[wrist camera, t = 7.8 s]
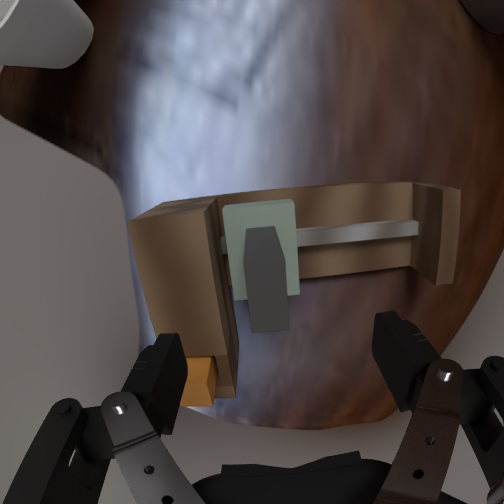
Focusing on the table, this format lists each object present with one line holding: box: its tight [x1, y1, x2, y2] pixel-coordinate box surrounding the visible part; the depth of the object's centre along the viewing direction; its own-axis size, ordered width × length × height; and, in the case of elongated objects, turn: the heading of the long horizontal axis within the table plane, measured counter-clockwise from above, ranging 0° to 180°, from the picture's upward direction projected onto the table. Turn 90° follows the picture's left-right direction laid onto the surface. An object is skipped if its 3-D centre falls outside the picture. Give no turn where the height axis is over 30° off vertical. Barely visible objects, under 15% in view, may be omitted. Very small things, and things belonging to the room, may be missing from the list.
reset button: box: [180, 356, 218, 406], centre depth 21 cm, size 2×2×4 cm
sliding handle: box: [222, 199, 300, 333], centre depth 20 cm, size 5×7×11 cm
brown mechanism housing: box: [128, 182, 461, 398], centre depth 23 cm, size 24×15×8 cm, turn 96°
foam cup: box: [0, 0, 94, 69], centre depth 14 cm, size 10×9×13 cm
